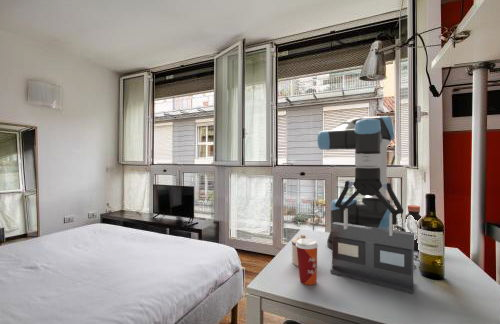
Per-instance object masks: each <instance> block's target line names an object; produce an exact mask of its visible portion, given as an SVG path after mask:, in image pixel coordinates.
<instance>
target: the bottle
mask: <svg viewBox="0 0 500 324" xmlns="http://www.w3.org/2000/svg"><path fill="white" fill-rule="evenodd" d="M420 212H421V206H419V205H413V204H409V205H407V214H406V215H405V218H404V219H405V222H406V219H407V217H408V216H409V215H412V216H413V217H414V219H415V220H417V221H418V220H419V219H420V218H421V217H422V216H421V214H420ZM414 252H418V243H417V239H416V240H414Z"/></svg>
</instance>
